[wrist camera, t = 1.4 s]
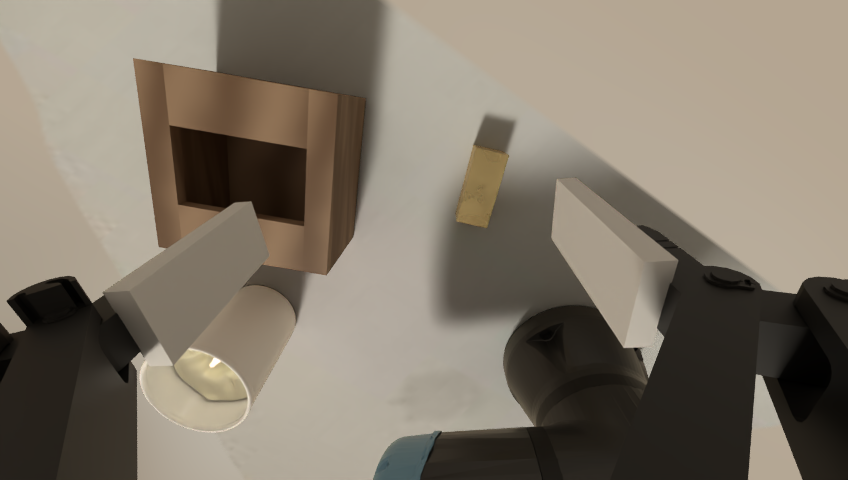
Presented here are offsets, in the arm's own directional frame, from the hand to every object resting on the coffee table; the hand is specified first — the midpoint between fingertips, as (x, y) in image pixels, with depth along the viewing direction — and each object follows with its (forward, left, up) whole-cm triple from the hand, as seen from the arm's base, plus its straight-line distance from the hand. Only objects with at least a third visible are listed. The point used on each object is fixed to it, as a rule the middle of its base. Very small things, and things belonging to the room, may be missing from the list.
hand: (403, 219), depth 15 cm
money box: (+13, +3, -20) cm, 24 cm away
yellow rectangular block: (-6, +2, -20) cm, 21 cm away
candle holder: (+16, +22, -20) cm, 34 cm away
